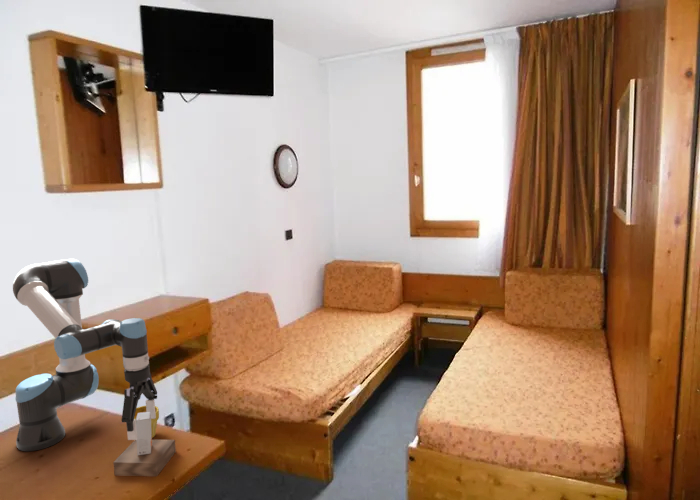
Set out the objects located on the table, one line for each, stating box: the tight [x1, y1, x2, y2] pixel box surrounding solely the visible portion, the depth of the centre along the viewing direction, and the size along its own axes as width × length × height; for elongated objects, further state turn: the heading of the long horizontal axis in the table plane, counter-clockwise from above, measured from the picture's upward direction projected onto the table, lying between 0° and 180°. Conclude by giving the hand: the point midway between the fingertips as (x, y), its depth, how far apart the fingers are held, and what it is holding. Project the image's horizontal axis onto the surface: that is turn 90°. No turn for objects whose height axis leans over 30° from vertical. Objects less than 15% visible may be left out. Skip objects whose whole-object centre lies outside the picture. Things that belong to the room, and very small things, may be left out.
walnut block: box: [112, 438, 177, 477], centre depth 164 cm, size 14×14×5 cm
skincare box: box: [136, 412, 153, 455], centre depth 163 cm, size 6×4×12 cm
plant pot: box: [134, 405, 160, 439], centre depth 181 cm, size 10×10×10 cm
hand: (142, 428), depth 163 cm, fingers open, 13 cm apart
